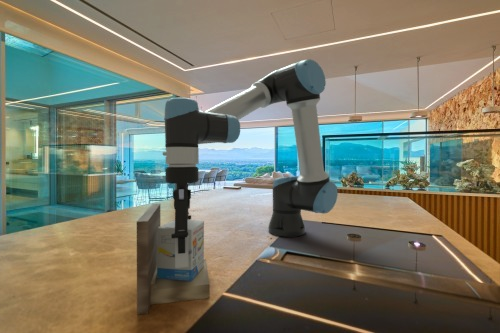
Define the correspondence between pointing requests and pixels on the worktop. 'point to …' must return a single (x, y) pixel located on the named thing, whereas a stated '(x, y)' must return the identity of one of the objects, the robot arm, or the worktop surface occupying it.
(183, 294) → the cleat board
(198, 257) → the ink box
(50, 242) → the worktop surface
